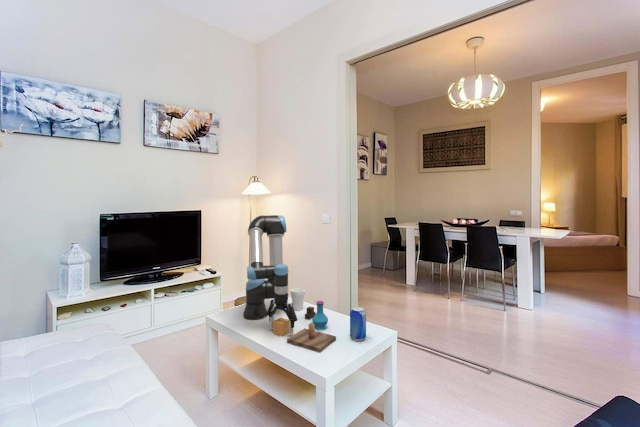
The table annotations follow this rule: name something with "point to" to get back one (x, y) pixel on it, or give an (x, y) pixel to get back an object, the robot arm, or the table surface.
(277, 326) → the wooden toy cube
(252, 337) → the table surface
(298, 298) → the foam cup
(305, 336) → the post board
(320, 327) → the perfume bottle
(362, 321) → the beer can
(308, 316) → the stack of crates
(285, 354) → the table surface
